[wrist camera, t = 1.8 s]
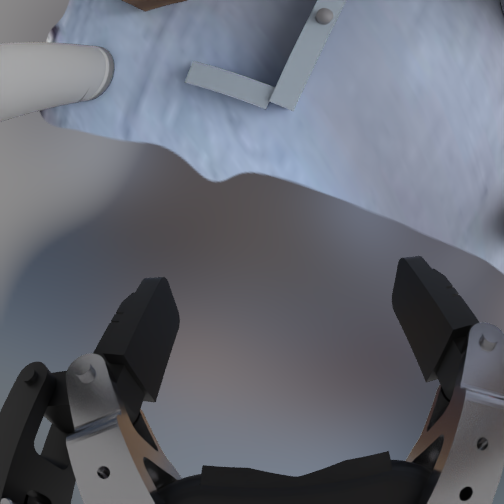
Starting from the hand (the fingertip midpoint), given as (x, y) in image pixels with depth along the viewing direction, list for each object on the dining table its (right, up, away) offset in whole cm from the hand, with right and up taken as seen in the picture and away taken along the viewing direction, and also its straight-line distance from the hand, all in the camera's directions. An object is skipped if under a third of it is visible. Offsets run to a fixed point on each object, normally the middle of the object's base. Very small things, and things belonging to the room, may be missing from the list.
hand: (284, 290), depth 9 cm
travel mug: (-18, +20, +12) cm, 29 cm away
